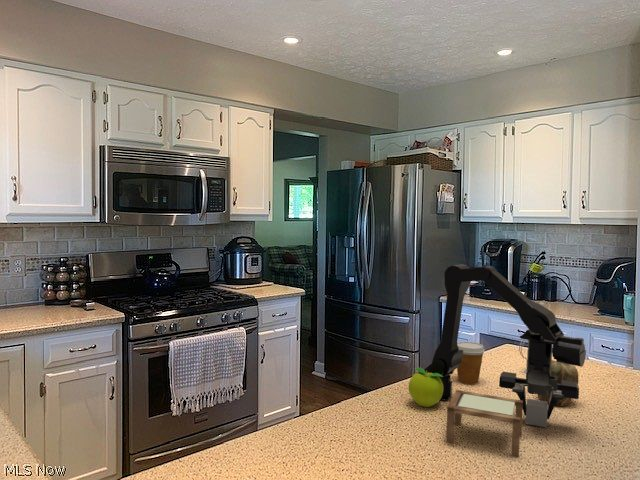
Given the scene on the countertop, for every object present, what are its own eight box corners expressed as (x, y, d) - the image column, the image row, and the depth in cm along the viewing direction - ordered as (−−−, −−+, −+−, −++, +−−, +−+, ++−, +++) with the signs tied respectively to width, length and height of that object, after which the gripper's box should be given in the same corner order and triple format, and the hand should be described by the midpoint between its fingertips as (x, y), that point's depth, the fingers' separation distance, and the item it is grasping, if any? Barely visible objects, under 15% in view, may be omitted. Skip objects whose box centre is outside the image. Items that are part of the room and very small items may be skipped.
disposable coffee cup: (477, 376, 168) (478, 341, 168) (487, 386, 159) (489, 349, 158) (449, 376, 168) (450, 341, 167) (458, 386, 158) (459, 348, 158)
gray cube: (525, 423, 130) (526, 404, 130) (526, 416, 134) (527, 398, 134) (546, 427, 128) (547, 408, 127) (546, 420, 132) (547, 401, 132)
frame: (446, 442, 119) (447, 407, 119) (455, 422, 131) (456, 389, 130) (518, 457, 112) (520, 419, 112) (521, 434, 124) (522, 400, 124)
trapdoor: (456, 409, 120) (456, 405, 120) (462, 397, 128) (462, 393, 128) (512, 419, 114) (512, 415, 114) (514, 405, 123) (514, 401, 123)
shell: (582, 410, 141) (584, 368, 140) (540, 406, 143) (542, 365, 142) (571, 396, 151) (573, 357, 151) (532, 393, 154) (534, 354, 153)
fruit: (420, 396, 149) (421, 363, 148) (448, 405, 142) (449, 370, 141) (401, 404, 142) (402, 369, 142) (430, 414, 136) (431, 377, 135)
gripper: (498, 361, 127) (495, 421, 127) (581, 372, 119) (578, 436, 120) (502, 350, 137) (499, 406, 138) (579, 360, 129) (575, 419, 130)
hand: (536, 416), depth 131 cm, fingers closed on gray cube, 5 cm apart
